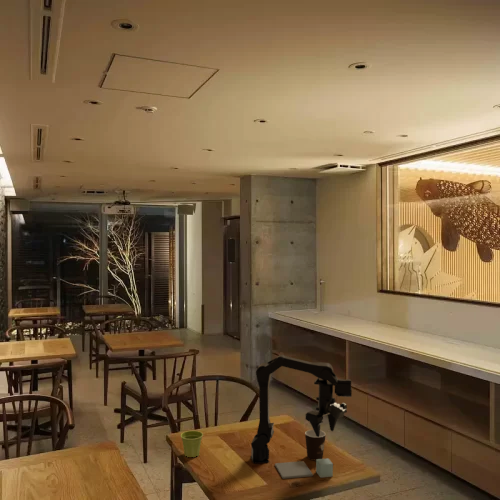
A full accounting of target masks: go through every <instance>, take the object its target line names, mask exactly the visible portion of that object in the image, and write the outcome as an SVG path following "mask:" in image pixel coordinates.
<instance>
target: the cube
mask: <svg viewBox="0 0 500 500" xmlns="http://www.w3.org/2000/svg"><path fill="white" fill-rule="evenodd" d="M315 463H316V465H315V472H316V474H317V475H318V476H319V477H320V478H330V477H334V476H333V474H334V472H333V471H334V464H333V462H332V461H331V459H330V458H328V457H327V458H322V459H316V460H315Z"/></svg>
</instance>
